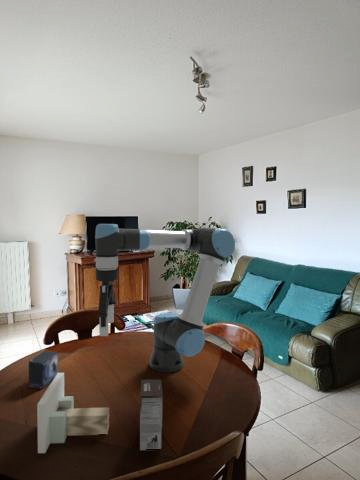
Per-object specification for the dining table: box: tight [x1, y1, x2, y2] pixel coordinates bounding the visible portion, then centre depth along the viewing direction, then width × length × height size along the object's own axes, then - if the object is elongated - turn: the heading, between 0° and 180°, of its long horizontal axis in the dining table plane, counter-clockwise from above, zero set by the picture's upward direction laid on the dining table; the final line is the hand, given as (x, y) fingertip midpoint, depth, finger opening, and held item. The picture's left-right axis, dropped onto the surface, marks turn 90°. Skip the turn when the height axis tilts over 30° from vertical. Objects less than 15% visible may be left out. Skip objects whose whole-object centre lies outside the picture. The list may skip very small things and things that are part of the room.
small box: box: [28, 350, 59, 390], centre depth 125 cm, size 11×6×10 cm, turn 168°
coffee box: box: [139, 379, 163, 451], centre depth 93 cm, size 9×6×16 cm
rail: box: [56, 407, 110, 437], centre depth 96 cm, size 16×4×6 cm, turn 94°
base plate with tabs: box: [36, 372, 75, 454], centre depth 96 cm, size 6×18×14 cm, turn 4°
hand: (107, 328), depth 110 cm, fingers open, 13 cm apart
